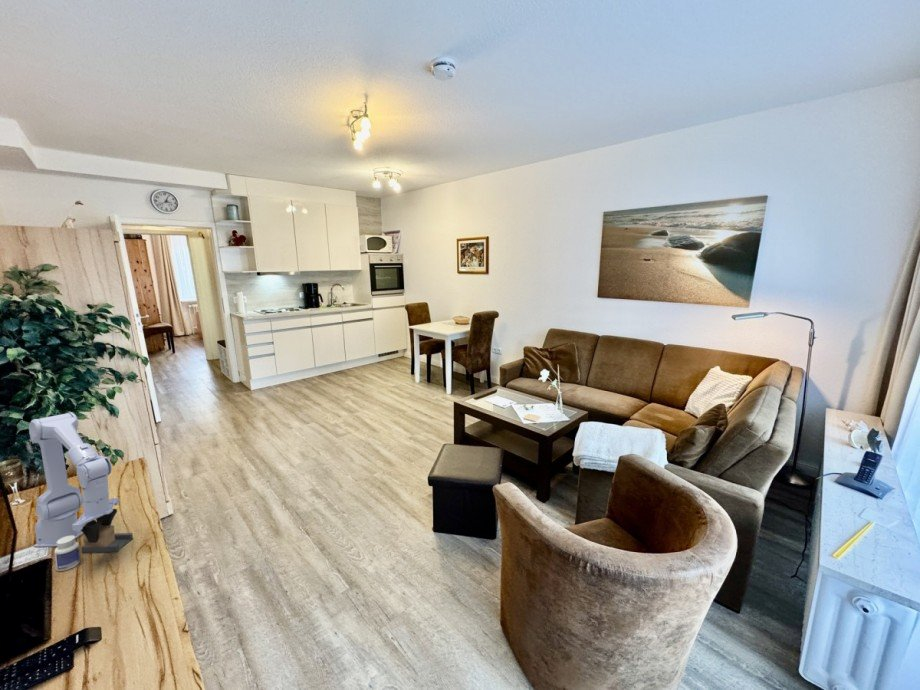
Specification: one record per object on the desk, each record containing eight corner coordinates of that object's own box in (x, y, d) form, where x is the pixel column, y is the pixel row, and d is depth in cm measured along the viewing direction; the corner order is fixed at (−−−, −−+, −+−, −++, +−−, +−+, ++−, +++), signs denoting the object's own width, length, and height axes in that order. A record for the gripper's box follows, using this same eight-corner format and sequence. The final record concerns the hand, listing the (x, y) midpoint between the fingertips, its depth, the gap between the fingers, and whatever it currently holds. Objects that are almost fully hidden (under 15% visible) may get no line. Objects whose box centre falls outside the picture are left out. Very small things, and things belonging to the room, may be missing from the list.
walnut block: (84, 547, 115) (83, 532, 114) (94, 539, 118) (93, 525, 118) (105, 546, 116) (104, 532, 115) (114, 539, 119) (113, 525, 118)
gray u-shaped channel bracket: (81, 553, 121) (80, 547, 121) (99, 539, 128) (99, 533, 128) (116, 552, 122) (116, 546, 122) (132, 538, 129) (132, 533, 129)
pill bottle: (84, 562, 117) (82, 536, 116) (62, 573, 112) (59, 546, 111) (73, 557, 119) (71, 532, 118) (51, 568, 114) (49, 542, 113)
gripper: (89, 510, 108) (92, 553, 110) (128, 485, 123) (130, 523, 124) (62, 510, 108) (66, 553, 109) (105, 485, 122) (107, 523, 124)
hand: (98, 537), depth 117 cm, fingers closed on walnut block, 3 cm apart
